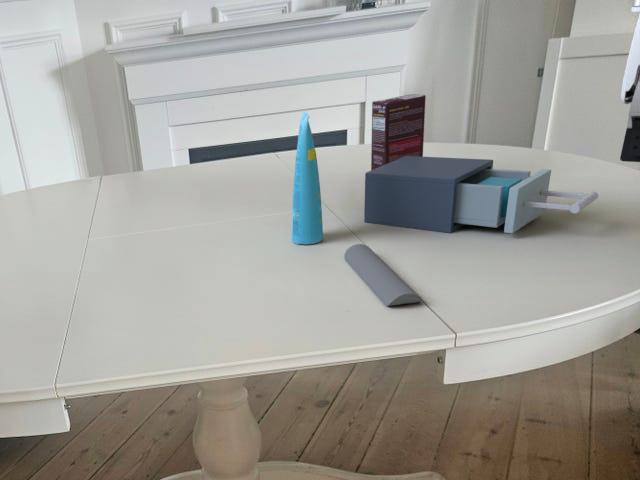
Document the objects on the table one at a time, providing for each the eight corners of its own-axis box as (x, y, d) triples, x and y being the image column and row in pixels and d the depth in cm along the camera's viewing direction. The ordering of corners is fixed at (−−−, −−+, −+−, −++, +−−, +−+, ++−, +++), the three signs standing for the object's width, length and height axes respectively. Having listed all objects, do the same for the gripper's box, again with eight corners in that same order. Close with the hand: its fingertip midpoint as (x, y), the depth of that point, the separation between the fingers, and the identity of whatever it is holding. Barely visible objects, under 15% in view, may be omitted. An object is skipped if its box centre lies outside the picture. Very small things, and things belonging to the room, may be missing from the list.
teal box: (518, 209, 94) (522, 178, 92) (505, 217, 92) (508, 186, 90) (487, 206, 98) (490, 176, 95) (473, 213, 95) (476, 183, 93)
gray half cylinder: (372, 253, 91) (372, 242, 91) (425, 305, 74) (426, 291, 73) (342, 257, 92) (342, 245, 91) (388, 310, 74) (389, 296, 73)
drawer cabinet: (487, 211, 102) (493, 159, 98) (450, 233, 95) (455, 178, 91) (403, 202, 112) (405, 155, 108) (364, 222, 105) (365, 172, 101)
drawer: (599, 217, 90) (607, 172, 87) (568, 240, 84) (577, 193, 81) (456, 203, 104) (459, 164, 102) (421, 222, 98) (424, 181, 95)
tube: (327, 245, 97) (327, 113, 88) (296, 249, 97) (292, 118, 88) (317, 231, 104) (316, 107, 95) (288, 235, 104) (283, 112, 95)
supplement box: (406, 178, 126) (410, 93, 119) (422, 182, 122) (427, 94, 115) (368, 186, 124) (370, 100, 117) (383, 191, 120) (386, 102, 113)
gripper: (699, -7, 64) (654, 175, 73) (733, -15, 73) (689, 150, 81) (613, 1, 69) (581, 171, 78) (654, -7, 78) (620, 147, 86)
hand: (636, 160), depth 79 cm, fingers closed
